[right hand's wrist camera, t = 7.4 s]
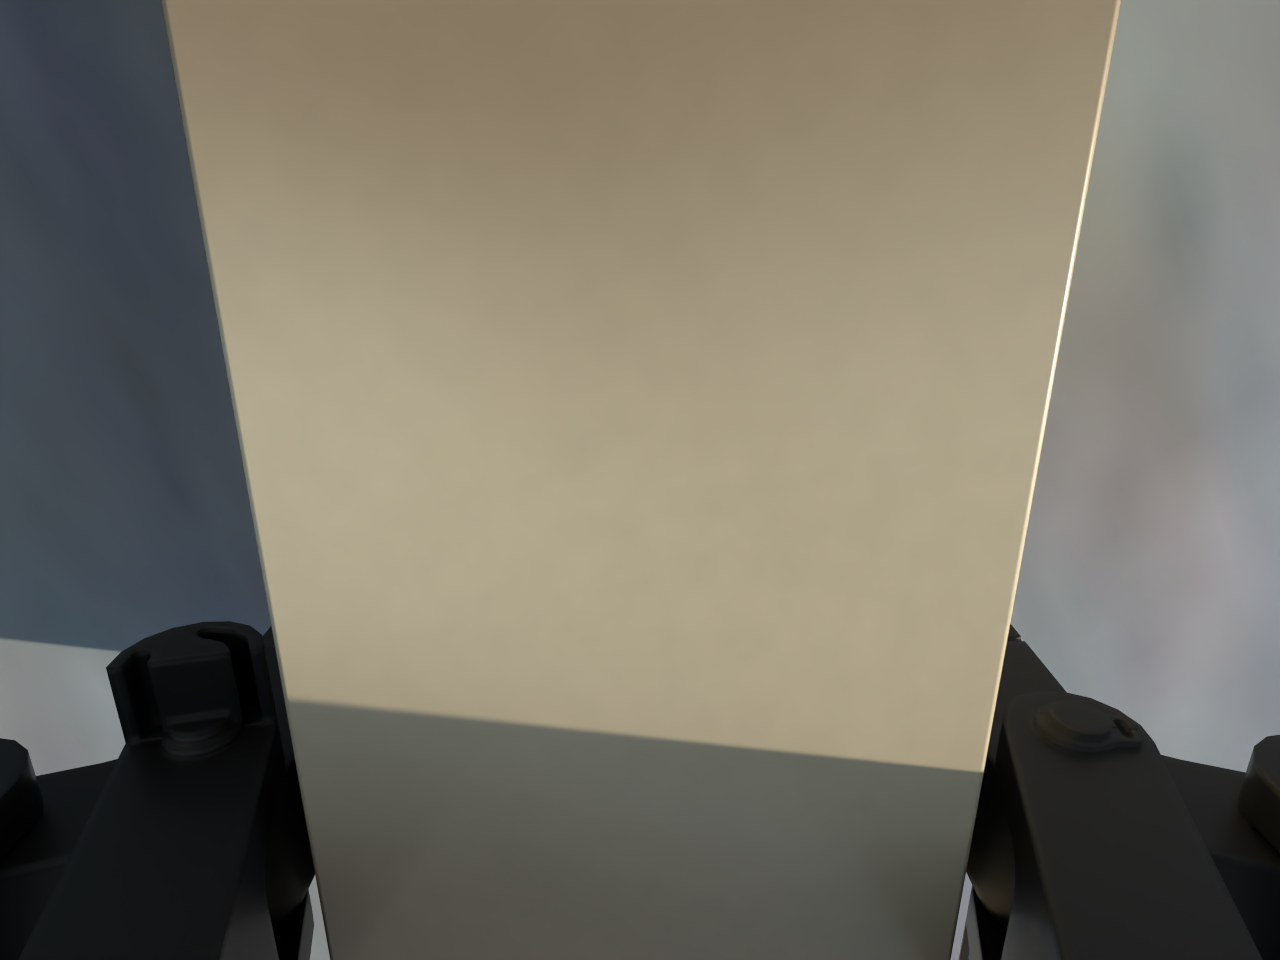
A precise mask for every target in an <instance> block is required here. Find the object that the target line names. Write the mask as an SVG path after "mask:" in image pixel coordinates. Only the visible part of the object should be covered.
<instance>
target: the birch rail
mask: <svg viewBox="0 0 1280 960" xmlns="http://www.w3.org/2000/svg"><path fill="white" fill-rule="evenodd" d="M161 3H162V9H163V14H164V20H165V26H166V31H167V37H168V43H169V48H170V54H171V60H172V65H173V71H174V77H175V82H176V88H177V94H178V99H179V105H180V111H181V116H182V122H183V128H184V133H185V139H186V145H187V150H188V156H189V162H190V167H191V173H192V179H193V184H194V190H195V196H196V201H197V207H198V213H199V218H200V224H201V230H202V235H203V241H204V247H205V252H206V258H207V264H208V269H209V275H210V281H211V286H212V292H213V298H214V303H215V309H216V315H217V320H218V326H219V332H220V337H221V343H222V349H223V354H224V360H225V366H226V371H227V377H228V383H229V388H230V394H231V399H232V405H233V411H234V416H235V422H236V428H237V433H238V439H239V445H240V450H241V456H242V462H243V467H244V473H245V479H246V484H247V490H248V496H249V501H250V507H251V513H252V518H253V524H254V530H255V535H256V541H257V547H258V552H259V558H260V564H261V569H262V575H263V581H264V586H265V592H266V598H267V603H268V609H269V615H270V620H271V626H272V632H273V637H274V643H275V649H276V654H277V660H278V666H279V671H280V677H281V683H282V688H283V694H284V700H285V705H286V711H287V717H288V722H289V728H290V734H291V739H292V745H293V751H294V756H295V762H296V768H297V773H298V779H299V785H300V790H301V796H302V802H303V807H304V813H305V819H306V824H307V830H308V836H309V841H310V847H311V852H312V858H313V864H314V869H315V875H316V881H317V886H318V892H319V898H320V903H321V909H322V915H323V920H324V926H325V932H326V937H327V943H328V949H329V954H330V960H950V959H951V953H952V948H953V942H954V936H955V931H956V925H957V919H958V914H959V908H960V903H961V897H962V891H963V886H964V880H965V874H966V869H967V863H968V858H969V852H970V846H971V841H972V835H973V830H974V824H975V818H976V813H977V807H978V801H979V796H980V790H981V785H982V779H983V773H984V768H985V762H986V756H987V751H988V745H989V740H990V734H991V728H992V723H993V717H994V711H995V706H996V700H997V695H998V689H999V683H1000V678H1001V672H1002V666H1003V661H1004V655H1005V650H1006V644H1007V638H1008V633H1009V627H1010V622H1011V616H1012V610H1013V605H1014V599H1015V593H1016V588H1017V582H1018V577H1019V571H1020V565H1021V560H1022V554H1023V548H1024V543H1025V537H1026V532H1027V526H1028V520H1029V515H1030V509H1031V503H1032V498H1033V492H1034V487H1035V481H1036V475H1037V470H1038V464H1039V458H1040V453H1041V447H1042V442H1043V436H1044V430H1045V425H1046V419H1047V413H1048V408H1049V402H1050V397H1051V391H1052V385H1053V380H1054V374H1055V369H1056V363H1057V357H1058V352H1059V346H1060V340H1061V335H1062V329H1063V324H1064V318H1065V312H1066V307H1067V301H1068V295H1069V290H1070V284H1071V279H1072V273H1073V267H1074V262H1075V256H1076V250H1077V245H1078V239H1079V234H1080V228H1081V222H1082V217H1083V211H1084V205H1085V200H1086V194H1087V189H1088V183H1089V177H1090V172H1091V166H1092V161H1093V155H1094V149H1095V144H1096V138H1097V132H1098V127H1099V121H1100V116H1101V110H1102V104H1103V99H1104V93H1105V87H1106V82H1107V76H1108V71H1109V65H1110V59H1111V54H1112V48H1113V42H1114V37H1115V31H1116V26H1117V20H1118V14H1119V9H1120V3H1121V0H161Z"/></svg>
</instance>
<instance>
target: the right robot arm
mask: <svg viewBox="0 0 1280 960" xmlns="http://www.w3.org/2000/svg"><path fill="white" fill-rule="evenodd" d="M106 669H107V673H108V677H109V681H110V685H111V689H112V692H113V696H114V700H115V704H116V708H117V712H118V715H119V719H120V723H121V727H122V731H123V734H124V738H125V742H126V744H125V746H124V748H123V750H122V752H121V754H120V756H119V758H118V759H116V760H112V761H108V762H104V763H100V764H95V765H90V766H85V767H80V768H75V769H70V770H65V771H60V772H55V773H50V774H45V775H40V776H36V775H35V772H34V769H33V766H32V763H31V759H30V756H29V753H28V750H27V749H26V748H24V747H23V746H22V745H20V744H19V743H18V742H16V741H15V740H8V739H1V738H0V960H310V953H311V945H312V937H313V929H314V921H313V913H312V906H311V901H310V895H309V890H308V888H309V886H310V884H311V882H312V880H313V878H314V875H315V869H314V864H313V858H312V852H311V847H310V841H309V836H308V830H307V824H306V819H305V813H304V807H303V802H302V796H301V790H300V785H299V779H298V773H297V768H296V762H295V756H294V751H293V745H292V739H291V734H290V728H289V722H288V717H287V711H286V705H285V700H284V694H283V688H282V683H281V677H280V671H279V666H278V660H277V654H276V649H275V643H274V637H273V632H272V626H271V627H270V628H269V629H268V631H267V632H266V633H265V634H264V636H263V637H262V634H260V633H259V632H258V631H256V630H255V629H254V628H252V627H251V626H249V625H244V624H239V623H234V622H230V621H226V622H201V623H196V624H191V625H186V626H181V627H176V628H172V629H169V630H167V631H164V632H161V633H158V634H156V635H153V636H150V637H147V638H145V639H143V640H141V641H139V642H138V643H136V644H134V645H133V646H131V647H129V648H127V649H126V650H124V651H122V652H121V653H120V654H119V655H118V656H117V657H116V658H115V659H114V660H113V661H112V662H111V663H110V664H109V665H108V666H107V667H106ZM966 872H967V874H968V876H969V878H970V881H971V883H972V890H971V895H970V901H969V906H968V912H967V917H966V923H965V928H964V934H963V939H962V945H961V950H960V956H959V960H1280V735H1276V736H1268V737H1266V738H1265V739H1263V740H1262V741H1261V742H1259V743H1258V744H1257V745H1255V746H1254V749H1253V752H1252V755H1251V759H1250V762H1249V765H1248V768H1247V771H1246V773H1245V772H1240V771H1235V770H1230V769H1225V768H1220V767H1215V766H1210V765H1204V764H1199V763H1194V762H1189V761H1184V760H1179V759H1175V758H1171V757H1168V756H1164V755H1160V753H1159V751H1158V749H1157V747H1156V745H1155V742H1154V741H1153V740H1152V739H1151V738H1150V736H1149V735H1148V734H1147V733H1146V731H1145V730H1144V729H1143V728H1142V726H1141V725H1140V724H1138V723H1137V722H1135V721H1134V720H1132V719H1131V718H1129V717H1128V716H1126V715H1125V714H1123V713H1122V712H1121V711H1119V710H1117V709H1115V708H1113V707H1110V706H1108V705H1106V704H1103V703H1101V702H1099V701H1096V700H1094V699H1091V698H1088V697H1083V696H1079V695H1075V694H1070V693H1067V692H1066V691H1065V690H1064V689H1063V687H1062V686H1061V685H1060V684H1059V683H1058V681H1057V680H1056V679H1055V678H1054V676H1053V675H1052V674H1051V673H1050V672H1049V670H1048V669H1047V668H1046V667H1045V665H1044V664H1043V663H1042V662H1041V661H1040V659H1039V658H1038V657H1037V656H1036V654H1035V653H1034V652H1033V651H1032V650H1031V648H1030V647H1029V646H1028V645H1027V643H1026V642H1025V641H1021V636H1020V635H1019V634H1018V632H1017V631H1016V630H1015V629H1014V628H1013V626H1012V625H1011V624H1010V627H1009V633H1008V638H1007V644H1006V650H1005V655H1004V661H1003V666H1002V672H1001V678H1000V683H999V689H998V695H997V700H996V706H995V711H994V717H993V723H992V728H991V734H990V740H989V745H988V751H987V756H986V762H985V768H984V773H983V779H982V785H981V790H980V796H979V801H978V807H977V813H976V818H975V824H974V830H973V835H972V841H971V846H970V852H969V858H968V863H967V869H966Z"/></svg>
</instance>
